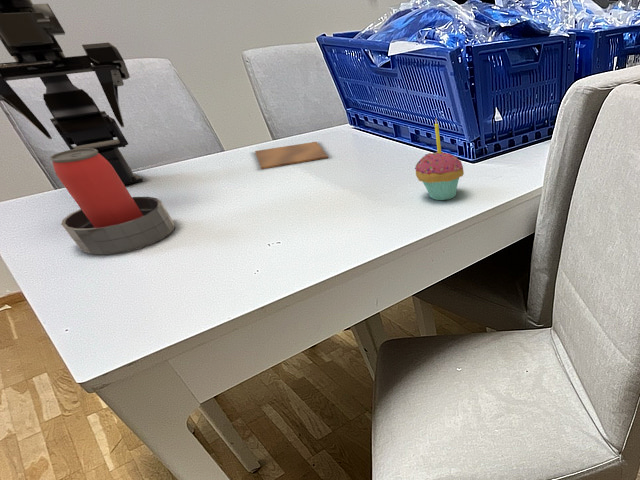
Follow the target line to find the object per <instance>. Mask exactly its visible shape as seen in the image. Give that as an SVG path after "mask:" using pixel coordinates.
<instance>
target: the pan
mask: <svg viewBox="0 0 640 480" xmlns="http://www.w3.org/2000/svg"><path fill="white" fill-rule="evenodd" d="M131 197H132V198H133V200H134V201H135V203H136V205H137V206H138V208H139V209H140V211H141V212H142V214H143V216H141V217H139V218H136V219H134V220H130V221H127V222H123V223H120V224H115V225H110V226H106V227H98V228H94V226H93V225H92V224H91V222H90V221H89V219H88V218H87V217H86V215H85V214H84V213H83V211H82V210H81V208H80V209H78V210H76V211H73V212H71V213H70V214H68V215H67V216H66V217H64V218H63V219H62V220H61V223H60V225H61V226H62V228H63V229H64V230H65V232H66V233H67V234H68V235H69V237H70V238H71V240H72V241H73V243H75V245H76V246H77V247H78V249H80V251H82V252H84V253H87V254H96V255H111V254H119V253H120V254H121V253H126V252H129V251H133V250H134V251H135V250H139V249H141V248H145V247H147V246H151V245H152V244H156V243H157V242H160V241H161V240H163V239H165V238H166V237H167V236H168V235H170V234H171V233H172V232H173V230H174V229H175V222H174V220H173V219H172V217H171V215H170V214H169V212H168V210H167V209H166V207H165V205H164V203H163V202H162V200H160V199H158V198H157V197H150V196H131Z"/></svg>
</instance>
